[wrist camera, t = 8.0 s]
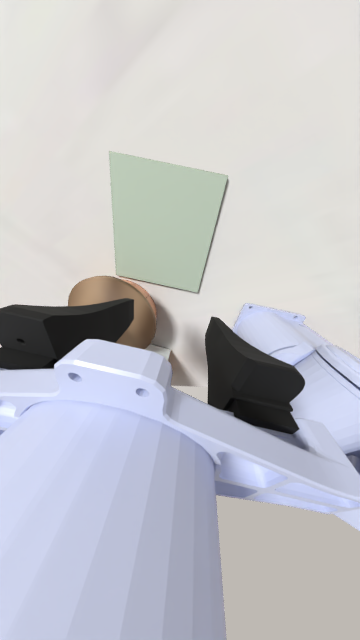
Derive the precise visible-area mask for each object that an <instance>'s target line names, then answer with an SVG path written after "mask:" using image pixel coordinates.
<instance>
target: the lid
mask: <svg viewBox="0 0 360 640" xmlns="http://www.w3.org/2000/svg"><path fill="white" fill-rule="evenodd" d="M123 298H129V299H134V320H133V321H132V323H131V325H130V326H129V328H128V329H127V330H126V331H125V332H124V334H123V335H122V336H121V337H120V338H119V339H118V340H117V342H116V343H117V344H122V345H126V346H130V347H135V348H139V349H144V350H145V349H146V348H147V347H148V346H149V345H150V343H151V341H152V339H153V337H154V335H155V332H156V318H155V314H154V311H153V309H152V307H151V305H150V303H149V302H148V300H147V299H146V298H145V297H144V295H143V294H142V293H141V292H140V291H139V290H137V289H136V288H135V287H133V286H132V285H131V284H129V283H127V282H125V281H123V280H121V279H118V278H115V277H110V276H95V277H91V278H88V279H85V280H82V281H81V282H79V283H78V284H76V285H75V286H74V288H73V289H72V291H71V293H70V295H69V300H68V306H83V305H92V304H98V303H103V302H109V301H113V300H118V299H123Z"/></svg>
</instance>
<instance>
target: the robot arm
mask: <svg viewBox="0 0 360 640" xmlns="http://www.w3.org/2000/svg"><path fill="white" fill-rule="evenodd" d="M250 306H252V307H251V308H249V307H250ZM295 316H296V317H295ZM294 317H295V318H294ZM305 319H306V317H305V316H303V315H300V314H295V313H290V312H286V311H281V310H277V309H272V308H267V307H263V306H258V305H254V304H249V303H246V304H245V305H244V306H243V308H242V310H241V313H240V315H239V317H238V319H237V321H236V323H235V325H234V328H233V330H231V329H230V328H229V327H228V326H227V325H226V324H225V323H224V322H223V321H222V320H220V319H219V318H216V317H211V320H210V323H209V326H208V329H207V332H206V335H205V346H206V354H207V362H208V404H206V403H204V402H202V401H200V400H198V399H196V398H194V397H192V396H190V395H188V394H185V393H183V392H181V391H179V390H177V389H175V388H173V387H171V379H172V374H173V373H172V366H171V364H170V363H169V362H168V361H167V360H166V358H165V357H164V356H162V355H159V354H157V353H155V352H153V351H148V350H144V349H139V348H135V347H130V346H126V345H122V344H117V343H116V342H117V340H118V339H119V338H120V337H121V336H122V335H123V334H124V332H125V331H126V330H127V329H128V328H129V326H130V325H131V323H132V321H133V320H134V299H129V298H123V299H118V300H113V301H109V302H103V303H98V304H92V305H83V306H66V307H49V306H30V305H10V306H7V307H4V308H1V309H0V344H1V346H2V347H1V348H0V640H226V627H225V613H224V600H223V586H222V572H221V560H220V559H221V558H220V547H219V531H218V519H217V504H216V495H219V496H225V497H232V498H239V499H245V500H252V501H259V502H266V503H272V504H278V505H285V506H291V507H295V508H301V509H306V510H311V511H315V512H320V513H324V514H334V515H336V516H337V517H339V518H340V519H342V520H343V521H345V522H347V523H348V524H349V525H351V526H353V527H354V528H356V529H357V530H359V531H360V359H359V358H357V357H356V356H354V355H352V354H351V353H349V352H347V351H346V350H344V349H342V348H340V347H338V346H335V345H333V344H331V343H330V342H329V341H327V340H326V339H324V338H323V337H322V336H320V335H319V334H317V333H316V332H315V331H313V330H312V329H310V328H309V327H308V326H306V325H305V324H303V321H304V320H305Z"/></svg>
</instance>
